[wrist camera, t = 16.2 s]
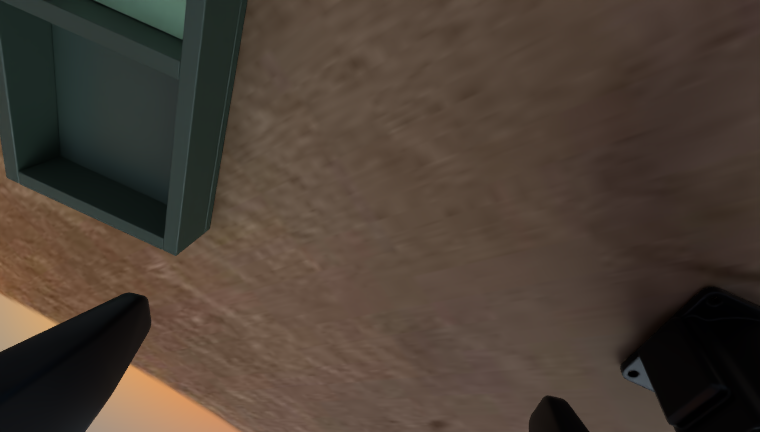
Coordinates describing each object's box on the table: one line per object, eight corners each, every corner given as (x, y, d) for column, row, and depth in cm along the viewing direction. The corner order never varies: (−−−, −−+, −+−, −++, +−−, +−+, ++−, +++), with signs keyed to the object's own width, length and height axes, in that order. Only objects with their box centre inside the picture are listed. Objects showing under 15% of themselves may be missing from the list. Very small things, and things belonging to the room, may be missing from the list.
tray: (282, -205, 14) (235, -254, 11) (209, 229, 24) (175, 256, 21) (22, -316, 14) (-81, -388, 12) (57, 159, 24) (5, 178, 21)
